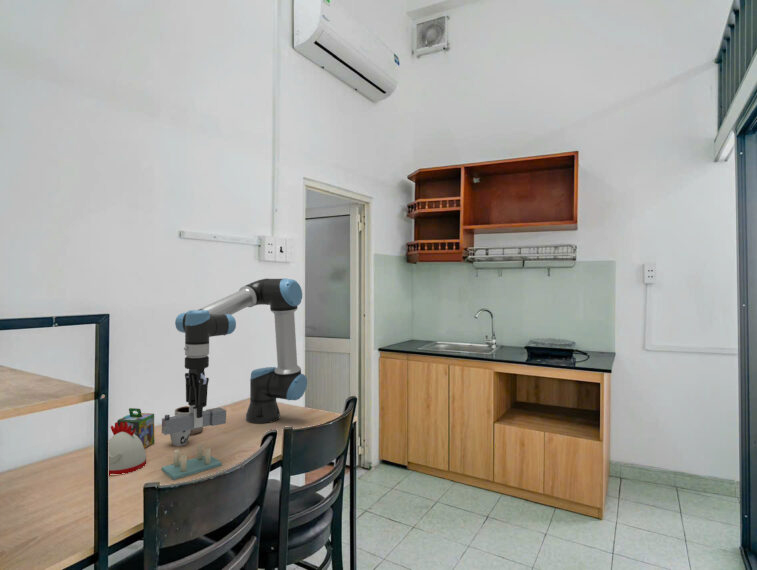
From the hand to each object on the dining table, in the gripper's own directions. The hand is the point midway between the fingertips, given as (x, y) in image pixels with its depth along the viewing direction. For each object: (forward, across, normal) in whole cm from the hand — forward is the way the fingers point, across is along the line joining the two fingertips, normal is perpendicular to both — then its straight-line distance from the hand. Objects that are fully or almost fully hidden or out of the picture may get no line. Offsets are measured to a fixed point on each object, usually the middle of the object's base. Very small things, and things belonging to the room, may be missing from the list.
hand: (195, 425), depth 148 cm
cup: (+14, -25, +5) cm, 29 cm away
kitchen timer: (+14, -17, -17) cm, 28 cm away
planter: (+14, -36, +13) cm, 41 cm away
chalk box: (+14, -33, -8) cm, 37 cm away
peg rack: (+14, 0, -1) cm, 14 cm away
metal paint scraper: (0, 0, 0) cm, 1 cm away
